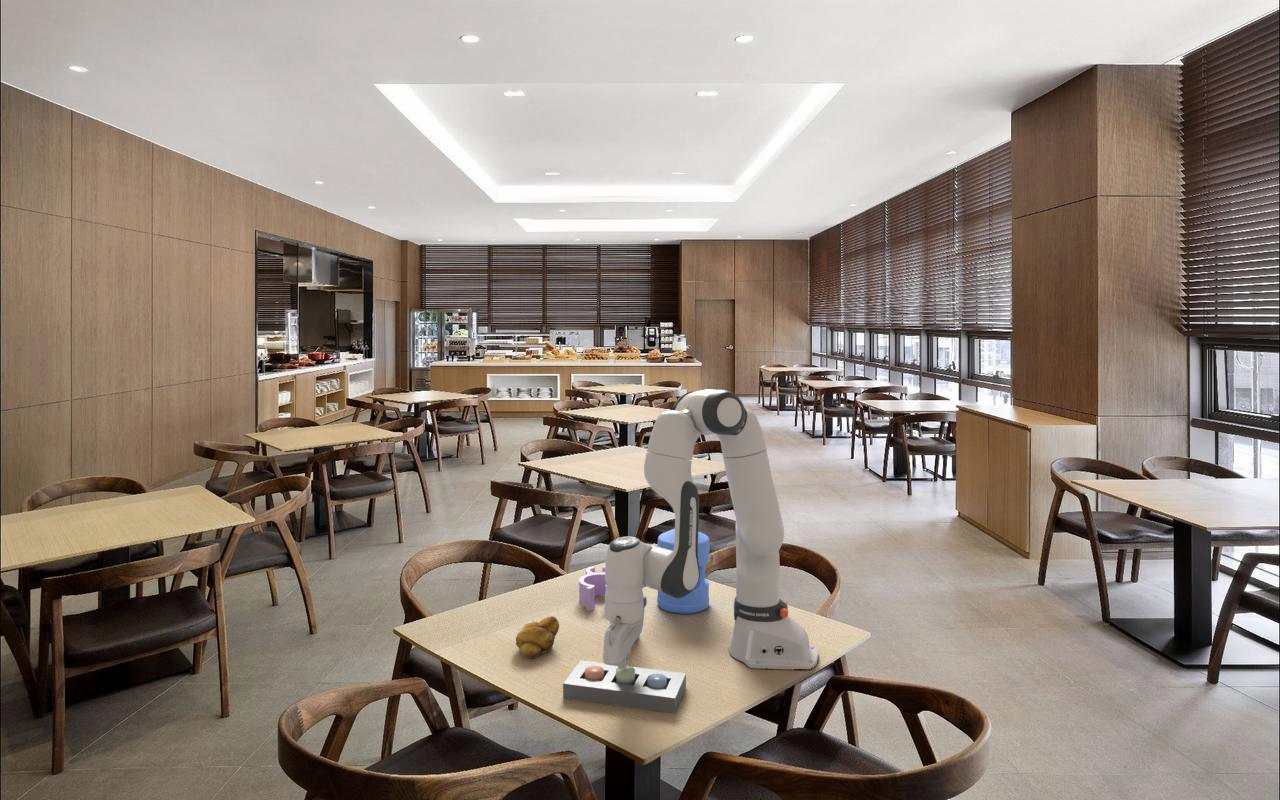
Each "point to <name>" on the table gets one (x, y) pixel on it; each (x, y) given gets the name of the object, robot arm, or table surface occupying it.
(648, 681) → the button slate
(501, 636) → the table surface
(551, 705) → the table surface
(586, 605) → the clip
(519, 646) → the bread roll
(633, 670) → the button sage
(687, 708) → the table surface
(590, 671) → the button terracotta
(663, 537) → the water jug
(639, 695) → the console
